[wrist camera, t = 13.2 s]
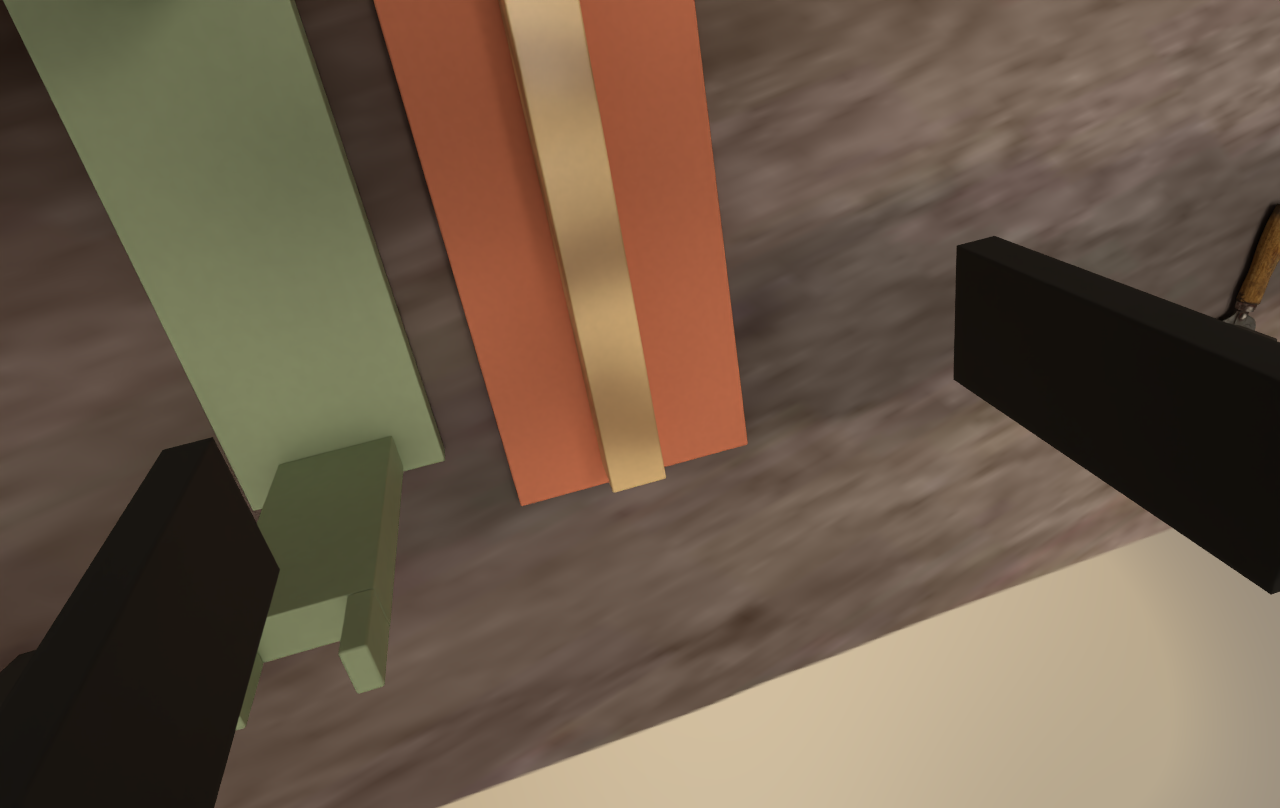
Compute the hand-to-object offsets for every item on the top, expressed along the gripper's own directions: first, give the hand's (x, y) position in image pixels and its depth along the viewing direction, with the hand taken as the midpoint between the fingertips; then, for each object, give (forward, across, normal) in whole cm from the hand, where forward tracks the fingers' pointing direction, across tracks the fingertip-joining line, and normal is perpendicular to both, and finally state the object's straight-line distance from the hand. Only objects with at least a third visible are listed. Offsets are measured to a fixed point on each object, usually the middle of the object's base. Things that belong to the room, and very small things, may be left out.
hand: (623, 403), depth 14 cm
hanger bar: (+18, +2, -2) cm, 18 cm away
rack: (+19, -10, +1) cm, 21 cm away
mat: (+19, +2, -1) cm, 19 cm away
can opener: (+19, +35, -13) cm, 42 cm away
